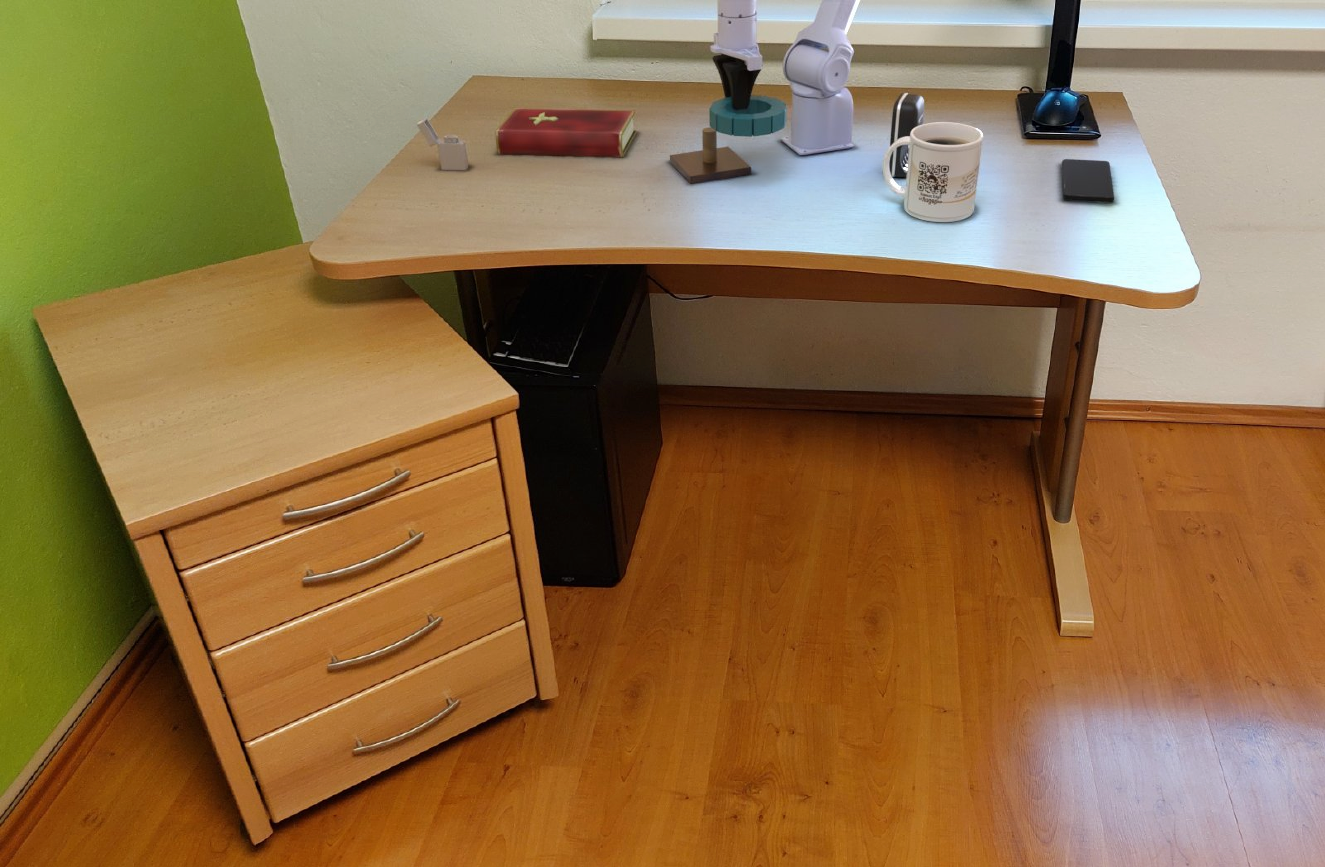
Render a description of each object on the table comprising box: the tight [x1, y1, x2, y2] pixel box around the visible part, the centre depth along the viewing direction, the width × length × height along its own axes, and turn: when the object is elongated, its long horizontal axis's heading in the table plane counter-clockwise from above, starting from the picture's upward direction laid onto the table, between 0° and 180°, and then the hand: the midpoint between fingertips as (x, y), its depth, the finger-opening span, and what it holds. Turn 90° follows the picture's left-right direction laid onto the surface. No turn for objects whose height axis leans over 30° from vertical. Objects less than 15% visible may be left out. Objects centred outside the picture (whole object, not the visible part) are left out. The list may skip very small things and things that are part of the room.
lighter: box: [416, 117, 469, 171], centre depth 180 cm, size 7×2×8 cm, turn 81°
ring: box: [708, 94, 788, 138], centre depth 169 cm, size 11×11×3 cm
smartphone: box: [1061, 158, 1115, 203], centre depth 167 cm, size 7×1×15 cm
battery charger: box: [889, 92, 925, 178], centre depth 171 cm, size 7×4×11 cm, turn 159°
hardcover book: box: [494, 107, 637, 158], centre depth 189 cm, size 12×21×4 cm, turn 80°
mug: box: [882, 121, 984, 223], centre depth 160 cm, size 10×12×11 cm
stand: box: [669, 126, 752, 185], centre depth 177 cm, size 10×10×6 cm
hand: (737, 106), depth 172 cm, fingers closed on ring, 2 cm apart
